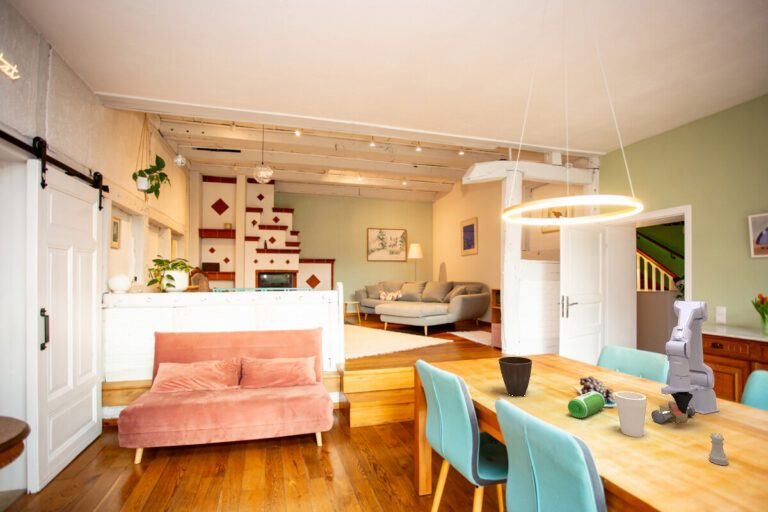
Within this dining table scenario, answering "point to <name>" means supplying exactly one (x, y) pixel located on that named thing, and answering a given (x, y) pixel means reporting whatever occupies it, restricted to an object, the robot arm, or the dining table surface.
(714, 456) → the rook chess piece
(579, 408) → the speaker
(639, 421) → the foam cup
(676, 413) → the lever
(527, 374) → the plant pot
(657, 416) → the valve body
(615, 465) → the dining table surface
